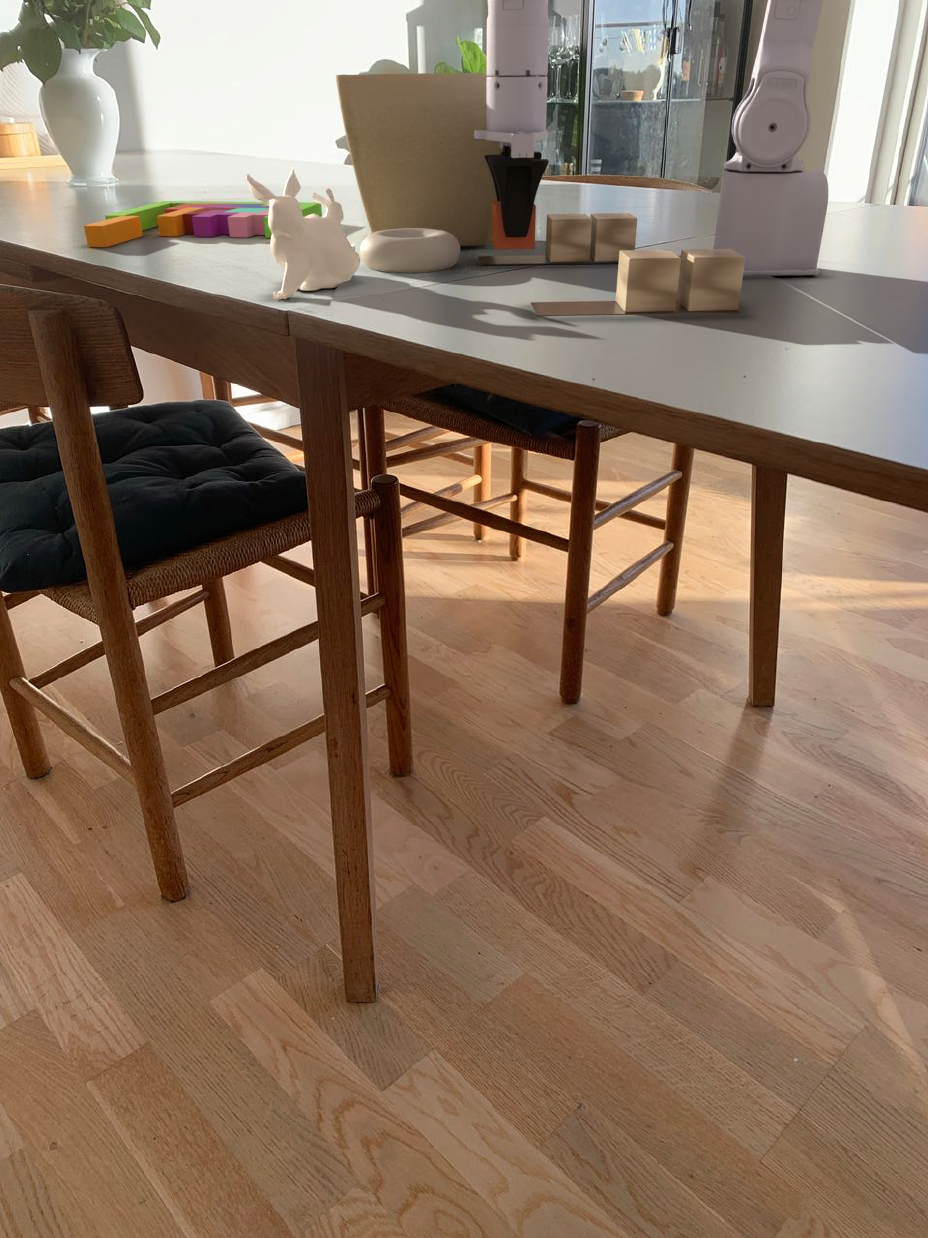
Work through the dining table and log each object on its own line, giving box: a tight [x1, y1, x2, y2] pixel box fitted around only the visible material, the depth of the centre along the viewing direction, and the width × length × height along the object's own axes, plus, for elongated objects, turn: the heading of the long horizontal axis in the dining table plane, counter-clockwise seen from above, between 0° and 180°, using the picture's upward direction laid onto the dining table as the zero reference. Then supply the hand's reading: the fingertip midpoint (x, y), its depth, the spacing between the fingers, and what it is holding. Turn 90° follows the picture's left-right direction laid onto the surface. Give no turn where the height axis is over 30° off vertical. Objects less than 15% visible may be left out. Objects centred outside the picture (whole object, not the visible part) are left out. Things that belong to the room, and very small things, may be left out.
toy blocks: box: [83, 200, 323, 248], centre depth 114 cm, size 23×2×25 cm
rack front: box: [529, 248, 746, 317], centre depth 72 cm, size 16×5×4 cm, turn 92°
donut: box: [359, 228, 461, 274], centre depth 91 cm, size 10×4×10 cm
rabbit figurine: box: [245, 167, 361, 300], centre depth 82 cm, size 12×8×10 cm, turn 140°
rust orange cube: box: [491, 201, 537, 251], centre depth 92 cm, size 4×4×4 cm
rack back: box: [477, 212, 638, 268], centre depth 93 cm, size 16×5×4 cm, turn 92°
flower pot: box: [335, 72, 503, 247], centre depth 103 cm, size 19×19×17 cm
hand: (513, 233), depth 92 cm, fingers closed on rust orange cube, 4 cm apart
